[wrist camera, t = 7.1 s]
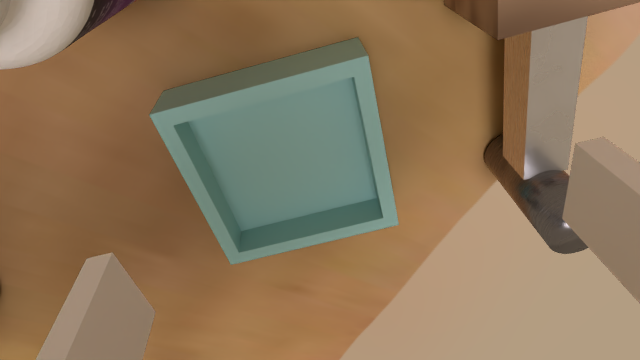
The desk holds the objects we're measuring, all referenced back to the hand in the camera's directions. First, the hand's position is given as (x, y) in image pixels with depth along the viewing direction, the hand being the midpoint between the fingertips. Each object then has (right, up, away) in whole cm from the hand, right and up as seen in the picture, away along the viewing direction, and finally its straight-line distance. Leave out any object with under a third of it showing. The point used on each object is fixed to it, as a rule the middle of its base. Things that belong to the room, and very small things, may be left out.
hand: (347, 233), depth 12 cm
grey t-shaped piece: (+12, +9, +15) cm, 21 cm away
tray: (-3, +4, +18) cm, 19 cm away
